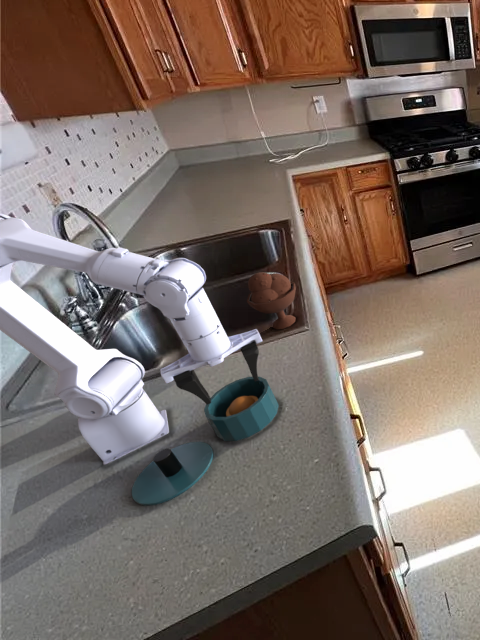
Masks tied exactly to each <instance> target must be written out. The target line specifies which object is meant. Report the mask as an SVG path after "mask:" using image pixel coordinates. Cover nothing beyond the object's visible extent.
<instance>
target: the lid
mask: <svg viewBox="0 0 480 640" xmlns="http://www.w3.org/2000/svg"><path fill="white" fill-rule="evenodd" d="M213 459H214V450H213V448H212V447H211V445H209V443H207V442H205V441H190V442H185V443H183V444H179V445H177V446H175V447H173V448H164V449H163V448H162V449H161V450H159V451H158V452H157V453H156V454H154V456H153V458H152V461H151V462H150V463H148V465H146V466H145V468H144V469H143V470H141V472H140V473H139V474H138V476H137V477H136V478H135V481H134V483H133V485H132V487H131V497H132V499H133V501H134V502H135V503H136V504H138V505H140V506H156V505H160V504H163V503H167V502H169V501H171V500H174V499H175V498H176V497H179V496H180V495H182V494H184V493H185V492H186V491H188V490H189V489H191V488H192V487H193V486H195V484H196V483H198V482H199V481H200V480H201V479H202V478H203V476H204V475H205V474H206V473H207V471H208V470H209V469H210V467H211V465H212V462H213Z"/></svg>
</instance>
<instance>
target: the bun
mask: <svg viewBox="0 0 480 640" xmlns="http://www.w3.org/2000/svg"><path fill="white" fill-rule="evenodd" d="M257 400H258V398H257V397H255V396H241V397H238V398H236V399H235V400H234V401H233V402H232V403H231V405H230V406H229V408H228V409H227V411H226V416H231V415H234V414H237V413H239V412H241V411H243V410H245V409H247V408H249V407H250V406H251V405H252V404H254V403H255V402H256V401H257Z"/></svg>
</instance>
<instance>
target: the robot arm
mask: <svg viewBox="0 0 480 640" xmlns="http://www.w3.org/2000/svg"><path fill="white" fill-rule="evenodd" d="M21 261H22V262H26V263H31V264H38V265H41V266H48V267H53V268H58V269H64V270H69V271H74V272H79V273H85V274H86V275H88V277H89V279H90V280H91V281H92V282H93V283H94V284H96V285H100V286H103V287H108V288H113V289H116V290H120V291H125V292H128V293H132V294H137V295H139V296H140V295H141V296H143V299H145V301H146V302H147V303H149V304H150V305H152V306H153V307H155V308H157V309H158V310H159V311H160V312H161V313H162V315H163V316H164V317H166V318H167V319H169V321H170V323H171V325H172V326H173V328H174V329H175V331H176V333H177V335H178V337H179V338H180V340H181V342H182V344H183V346H184V347H185V349H186V350H187V352H188V353H187V354H185V355H184V356H182V357H180V358H179V359H177V360H175V361H173V362H171V363H170V364H167V365H166V366H164V367H161V368H160V369H159V373H160V377H161V378H162V380H163V381H164V382H165V384H168V383H169V384H170V383H171V382H173V381H174V382H175V385H176V387H177V388H178V389H180V390H183V391H186V392H188V393H191V394H192V395H194V396H195V397H197V398H199V399H200V400H201V401H203V402H204V403H205V405H206V404H207V405H208V404H210V403H211V399H210V398H211V396H210V394H209V393H208V391H207V389H206V388H205V387H204V385H203V384H202V382H201V380H200V379H199V378H198V375H197V374H196V372H195V370H196V369H199V368H202V367H206V366H209V367H211V368H212V367H214V366H217V365H219V364H221V363H223V362H224V360H225V358H227V357H228V356H230V355H231V354H234V353H235V352H237V351H239V350H240V352H241V354H242V357H243V359H244V360H245V362H246V364H247V367H248V369H249V372H250V374H251V377H253V379H254V381H255V382H256V381H258V380H259V378H258V377H259V376H258V359H259V354H260V349H259V347H258V345H257V344H261V343H262V342H263V339H262V336H261V334H260V332H259V330H258V328H255V329H252V330H249V331H245V332H242V333H238V334H233V335H230V336H228V335H227V332H226V330H225V329H224V327H223V325H222V323H221V321H220V318H219V317H218V314H217V313H216V310H215V309H214V307H213V305H212V303H211V301H210V299H209V297H208V295H207V293H206V291H205V289H204V287H203V286H204V284H205V283H206V280H207V275H206V271H205V270H204V268H202V267H201V265H200V264H198V263H196V262H195V261H193V260H190V259H188V258H185V257H176V258H173V259H166V258H165V259H160V258H154V257H149V256H147V255H142V254H139V253H134V252H131V251H129V248H128V249H127V248H124V247H119V246H118V247H109V248H106V249H104V250H101V251H98V250H95V249H92V248H89V247H86V246H83V245H81V244H77V243H74V242H71V241H69V240H65V239H62V238H59V237H56V236H53V235H50V234H47V233H44V232H40V231H37V230H35V229H32V228H31V226H30V225H29V224H28V223H27V222H26V221H25V220H23V219H22V218H18V217H12V216H9V215H7V214H4V213H2V212H0V331H1V332H2V333H3V334H5V335H6V336H7V337H9V338H10V339H11V340H13V341H14V342H15V343H16V344H19V346H21V347H22V348H24V349H25V350H26V351H28V352H29V353H30V354H32V355H33V356H34V357H36V358H37V359H38V360H39V361H41V362H42V363H43V364H45V365H46V366H48V367H49V368H50V369H52V370H53V371H54V372H56V373H57V374H58V375H57V380H56V384H55V388H54V396H55V397H57V398H58V399H60V400H61V401H62V402H63V403H64V405H65V407H66V409H67V410H68V411H69V412H70V413H71V414H72V415H74V416H75V417H77V425H78V430H79V432H80V434H81V436H82V437H83V439H84V440H85V442H86V443H87V444H88V445H89V447H90V448H91V450H92V451H94V452H95V454H96V455H97V456H98V457H99V458H100V459H101V461H102V464H103V466H105V465H108V464H110V463H112V462H114V461H115V460H118V459H120V458H122V457H123V456H126V455H128V454H129V453H132V452H134V451H136V450H138V449H140V448H142V447H144V446H146V445H148V444H150V443H152V442H154V441H156V440H158V439H160V438H162V437H164V436H166V435H167V434H169V433H170V428H169V422H168V415H167V409H162V410H159V409H158V408H157V407H156V406H155V404H154V403H153V401H152V399H151V398H150V397H149V395H148V394H147V392H146V391H145V389H144V388H143V387H144V385H145V383H144V382H143V378H144V377H145V374H146V370H145V368H144V366H143V365H142V363H141V362H139V361H138V360H137V359H135V358H133V357H130V356H128V355H126V354H124V353H122V352H121V351H119V350H118V349H117V348H105V349H104V348H103V349H96V348H95V347H94V346H92V344H90V343H89V342H87V341H86V340H85V339H84V338H83V337H81V336H80V335H78V334H77V333H76V332H75V331H74V330H73V329H71V328H70V327H69V326H67V325H66V324H65V323H64V322H63V321H61V319H59V318H58V317H57V316H55V315H54V314H53V313H51V312H50V311H49V310H48V309H47V308H46V307H44V306H43V305H41V303H39V302H38V301H37V300H35V299H34V298H33V297H32V296H31V295H29V294H28V293H27V292H25V291H24V290H23V289H22V288H21V287H19V285H17V284H16V283H14V282H13V281H12V279H11V276H12V269H13V266H14V265H15V263H16V262H21Z"/></svg>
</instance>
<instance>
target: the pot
mask: <svg viewBox="0 0 480 640" xmlns="http://www.w3.org/2000/svg"><path fill="white" fill-rule="evenodd" d="M258 378H259V380H258V381H256V382H255V381H254V379H253V377H252V376H246V377H243V378H239V379H236V380H234V381H231V382H230V383H228V384H226V385H224V386H222V388H220V389H218V390H217V391H216V392H214V393H213V395H212V396H210V399H211V403H210V404H208V405H207V404H206V403H205V406H204V408H203V412H204V416H205V418H206V420H207V421H208V423H209V425H210V426H211V428H212V429H213V432H214V433H215V434H216V436H217V438H219V439H221V440H222V441H224V442H238V441H241V440H244V439H248V438H250V437H251V436H253V435H256V434H257V433H259V432H261V431H262V430H263V429H264V428H266V427H267V426H268V425H269V424H270V423H272V421H273V420H274V418H275V417H276V416H277V414H278V411H279V402H278V401H277V398H276V396H275V395H274V391H273V390H272V388H271V386H270V384H269V382H268V379H266V378H264V377H263V376H258ZM241 396H255V397H257V398H258V400H257V401H256V402H255V403H254V404H252V405H251V406H250V407H249V408H247V409H245V410H243V411H241V412H239V413H237V414H234V415H231V416H226V411H227V409H228V408H229V406H230V405H231V403H232V402H233V401H234V400H235V399H236V398H238V397H241Z"/></svg>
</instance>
